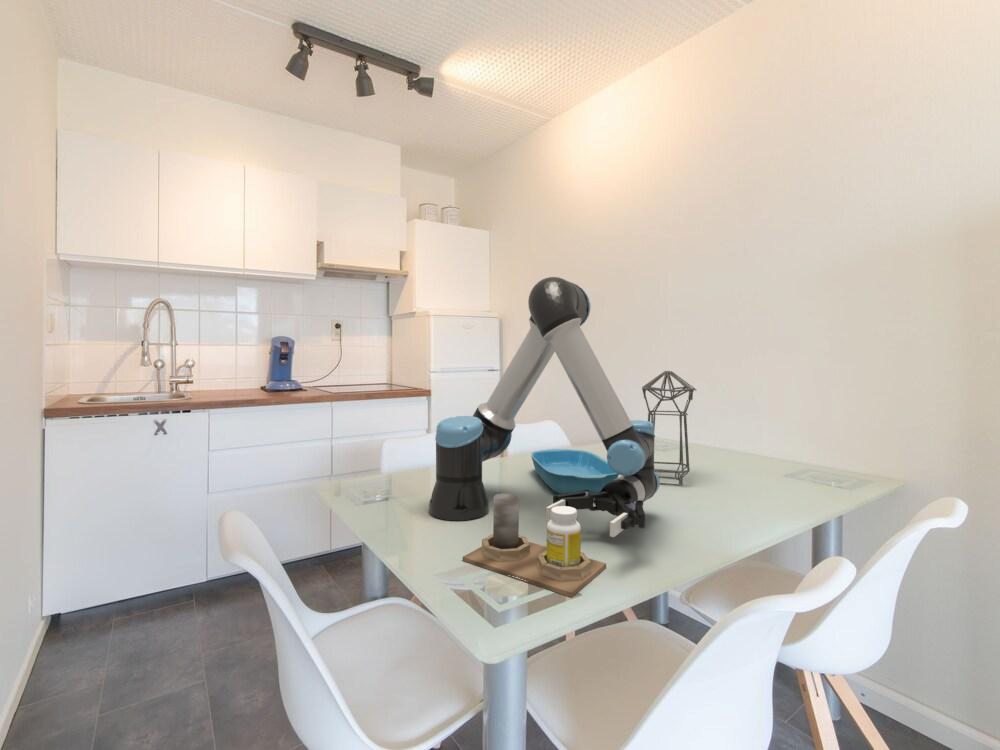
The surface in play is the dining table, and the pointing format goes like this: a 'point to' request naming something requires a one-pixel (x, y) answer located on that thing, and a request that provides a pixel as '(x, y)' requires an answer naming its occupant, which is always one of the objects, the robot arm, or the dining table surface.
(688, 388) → the geometric lantern
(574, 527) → the pill bottle
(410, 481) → the dining table surface
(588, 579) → the socket board
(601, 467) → the casserole dish
